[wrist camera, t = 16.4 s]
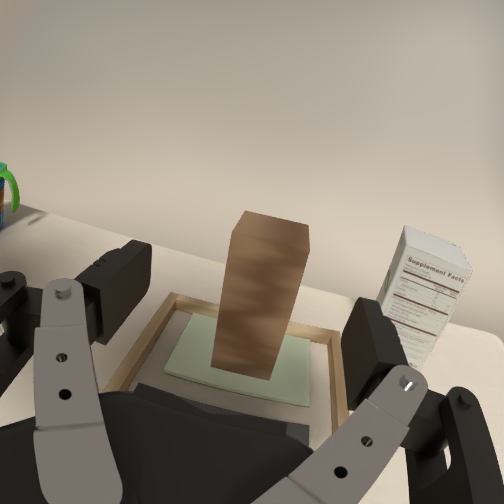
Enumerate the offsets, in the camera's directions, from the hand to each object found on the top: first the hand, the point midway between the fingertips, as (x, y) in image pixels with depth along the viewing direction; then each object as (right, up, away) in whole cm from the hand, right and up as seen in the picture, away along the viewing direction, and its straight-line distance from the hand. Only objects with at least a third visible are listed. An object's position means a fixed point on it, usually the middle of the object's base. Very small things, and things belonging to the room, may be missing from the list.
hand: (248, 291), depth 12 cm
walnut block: (0, -8, +15) cm, 17 cm away
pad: (-1, -8, +15) cm, 17 cm away
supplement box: (+16, -9, +21) cm, 28 cm away
